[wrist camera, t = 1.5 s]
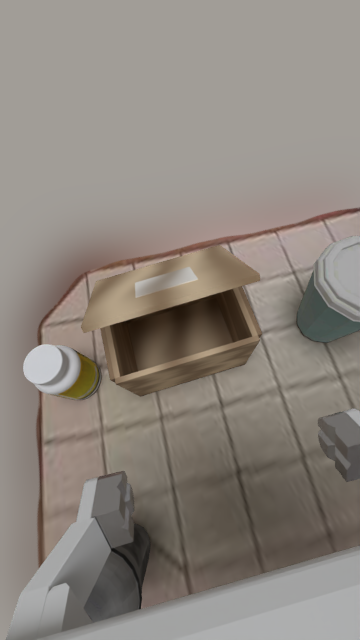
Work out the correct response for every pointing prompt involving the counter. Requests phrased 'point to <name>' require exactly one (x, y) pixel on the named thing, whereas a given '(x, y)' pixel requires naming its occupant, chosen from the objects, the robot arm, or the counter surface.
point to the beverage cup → (120, 579)
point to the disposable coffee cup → (333, 293)
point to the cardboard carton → (181, 342)
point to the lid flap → (165, 286)
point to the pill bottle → (62, 372)
